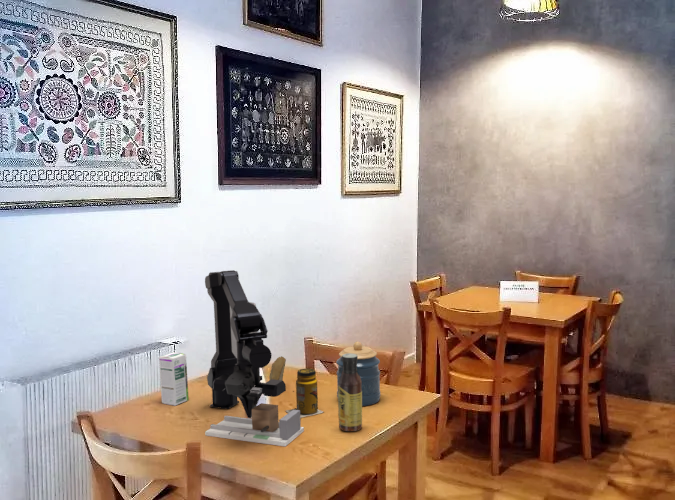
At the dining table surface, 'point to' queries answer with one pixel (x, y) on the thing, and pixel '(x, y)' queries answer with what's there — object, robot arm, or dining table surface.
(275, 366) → the rock
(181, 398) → the syrup box
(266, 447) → the dining table surface
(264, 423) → the brown cardboard cube
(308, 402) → the condiment
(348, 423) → the sauce bottle
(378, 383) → the canister
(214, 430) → the gauge base
